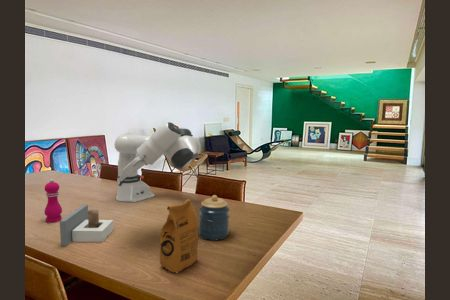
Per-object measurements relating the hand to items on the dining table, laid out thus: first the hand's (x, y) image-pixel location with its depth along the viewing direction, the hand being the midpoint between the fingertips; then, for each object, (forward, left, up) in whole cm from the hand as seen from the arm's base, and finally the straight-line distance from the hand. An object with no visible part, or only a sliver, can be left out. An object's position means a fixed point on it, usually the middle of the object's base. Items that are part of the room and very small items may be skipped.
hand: (123, 177), depth 119 cm
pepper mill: (+19, -38, -26) cm, 49 cm away
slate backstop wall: (+16, -13, -25) cm, 33 cm away
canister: (-30, +22, -26) cm, 46 cm away
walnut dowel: (+10, -9, -25) cm, 28 cm away
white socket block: (+10, -9, -26) cm, 29 cm away
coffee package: (-5, +33, -26) cm, 42 cm away
